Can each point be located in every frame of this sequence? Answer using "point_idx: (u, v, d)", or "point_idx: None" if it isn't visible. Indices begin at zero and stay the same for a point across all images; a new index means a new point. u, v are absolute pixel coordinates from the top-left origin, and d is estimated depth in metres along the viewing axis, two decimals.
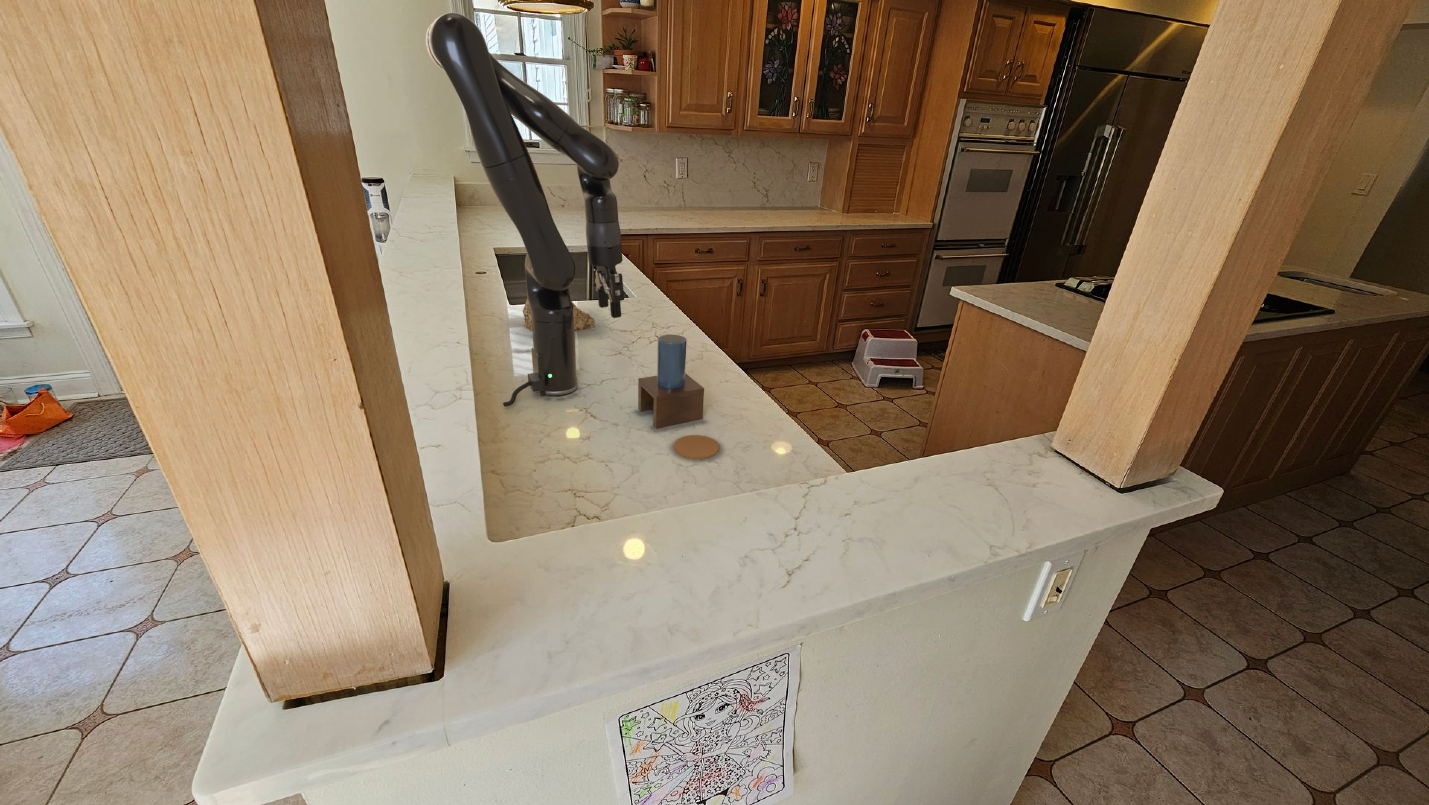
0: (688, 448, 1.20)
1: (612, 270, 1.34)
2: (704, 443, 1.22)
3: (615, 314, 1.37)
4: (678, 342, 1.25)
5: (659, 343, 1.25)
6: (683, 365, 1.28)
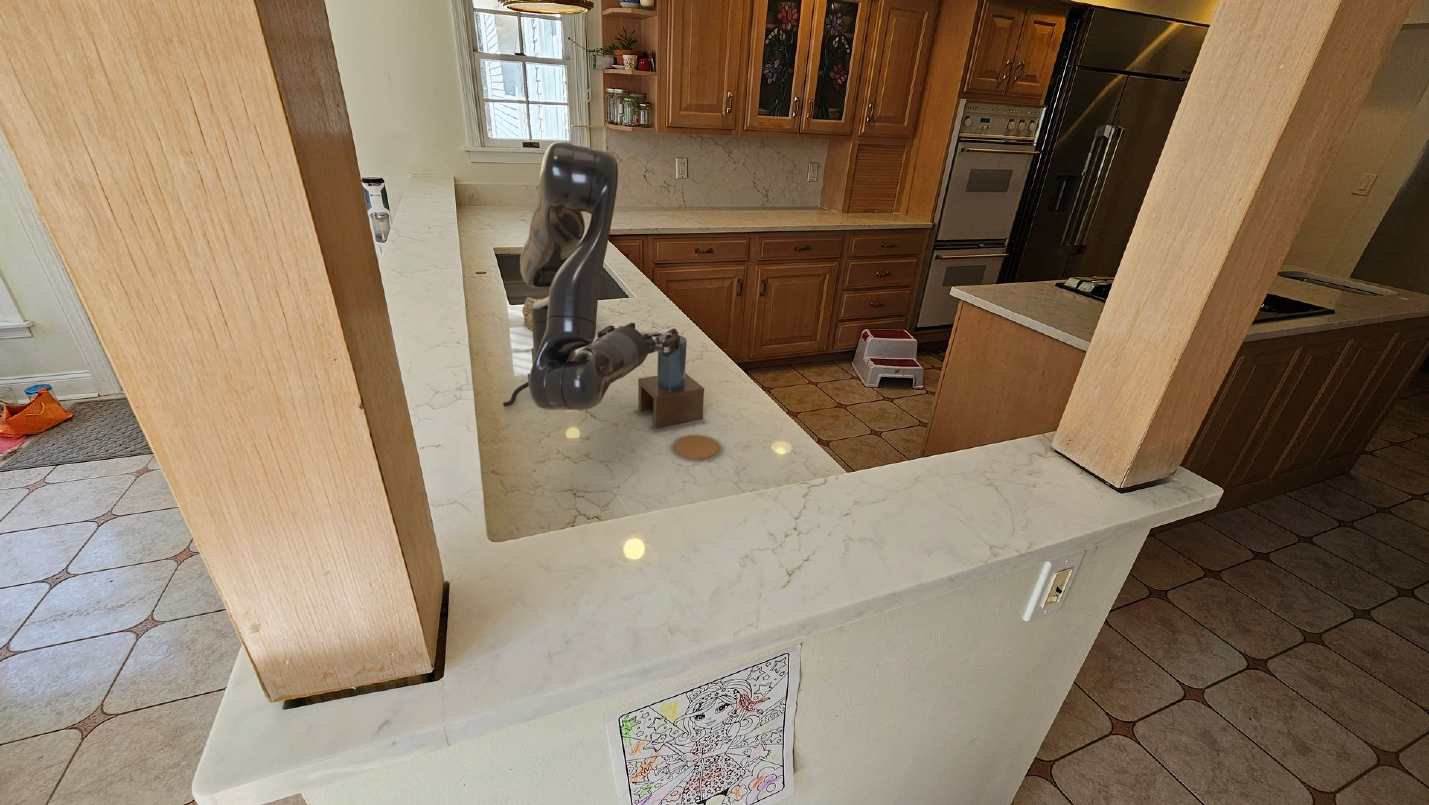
0: (688, 448, 1.20)
1: None
2: (704, 443, 1.22)
3: None
4: None
5: None
6: (683, 365, 1.28)
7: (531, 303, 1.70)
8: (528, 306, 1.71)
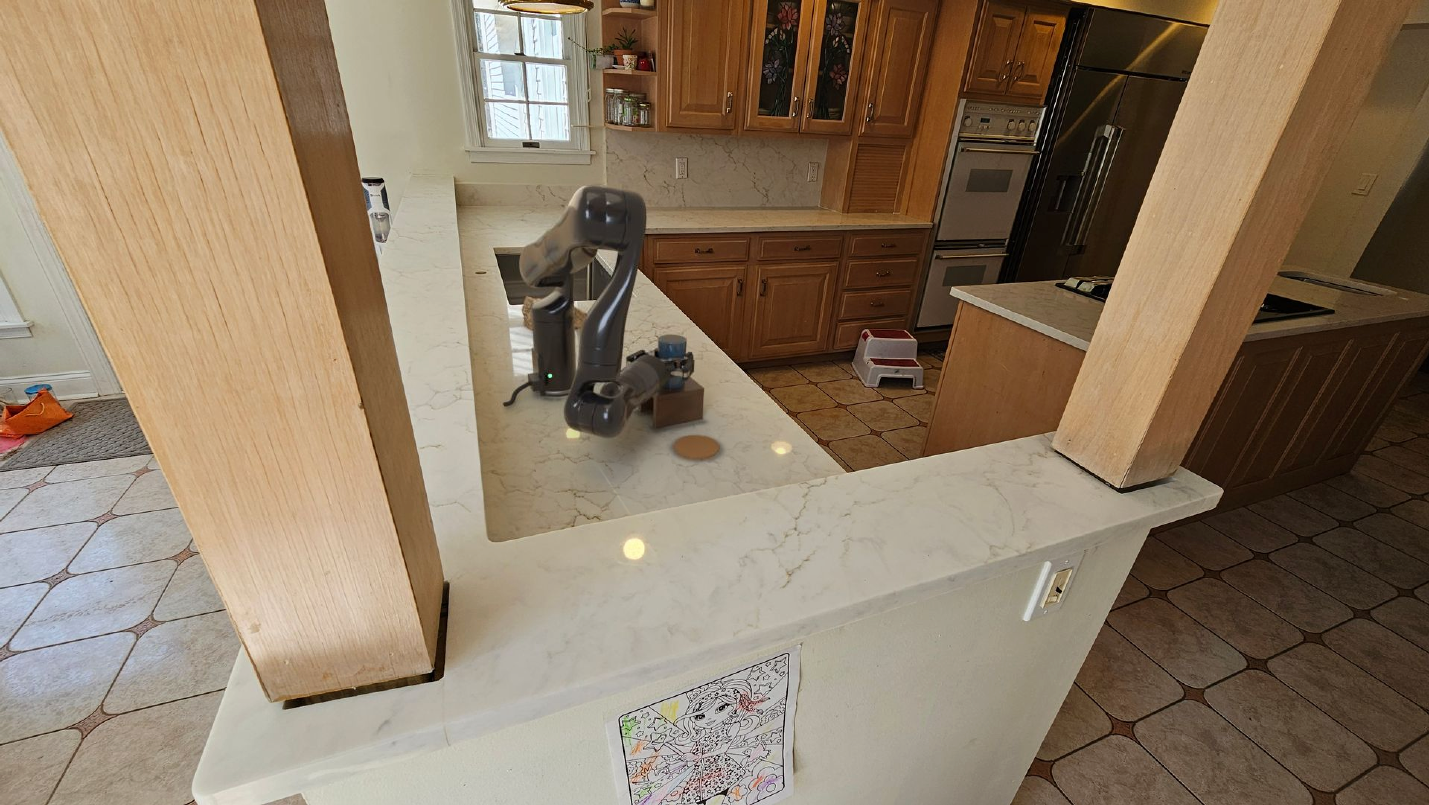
0: (688, 448, 1.20)
1: None
2: (704, 443, 1.22)
3: None
4: (678, 342, 1.25)
5: (659, 343, 1.25)
6: None
7: (530, 302, 1.70)
8: (527, 305, 1.72)
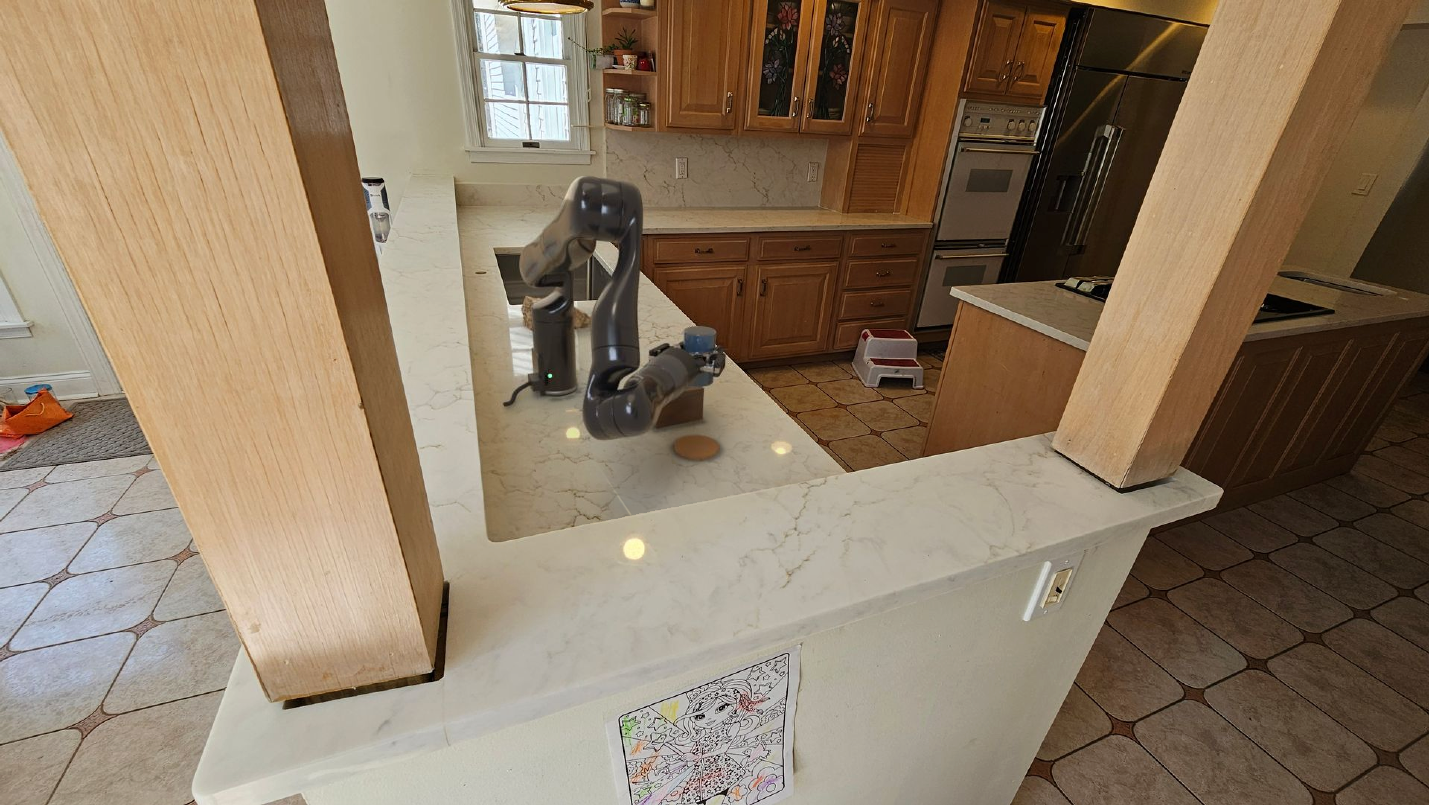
0: (688, 448, 1.20)
1: None
2: (704, 443, 1.22)
3: None
4: (707, 334, 1.11)
5: (686, 335, 1.11)
6: None
7: (529, 302, 1.71)
8: (526, 305, 1.72)
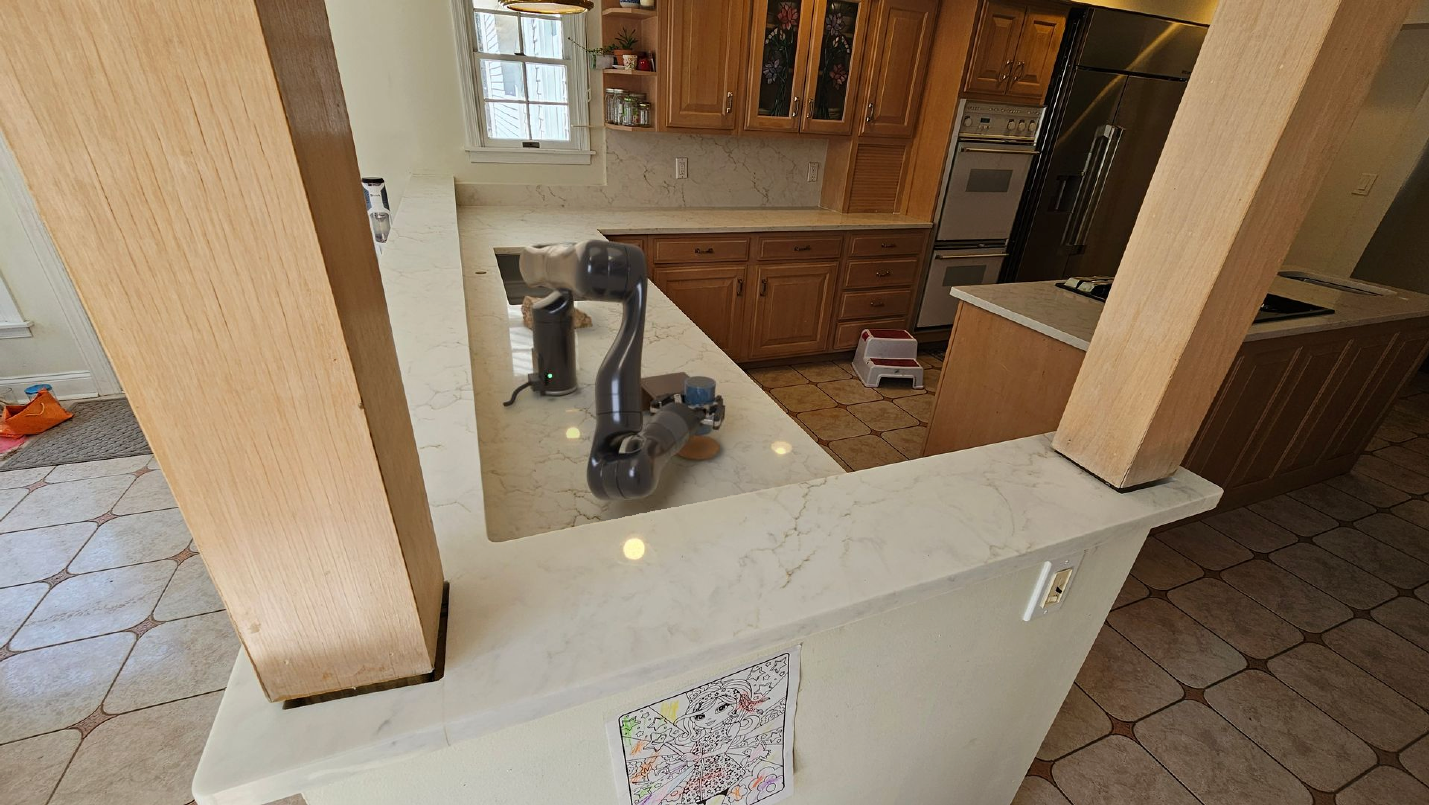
0: (688, 448, 1.20)
1: None
2: (704, 443, 1.22)
3: None
4: (707, 386, 1.14)
5: (686, 387, 1.14)
6: None
7: (529, 301, 1.71)
8: (526, 304, 1.73)
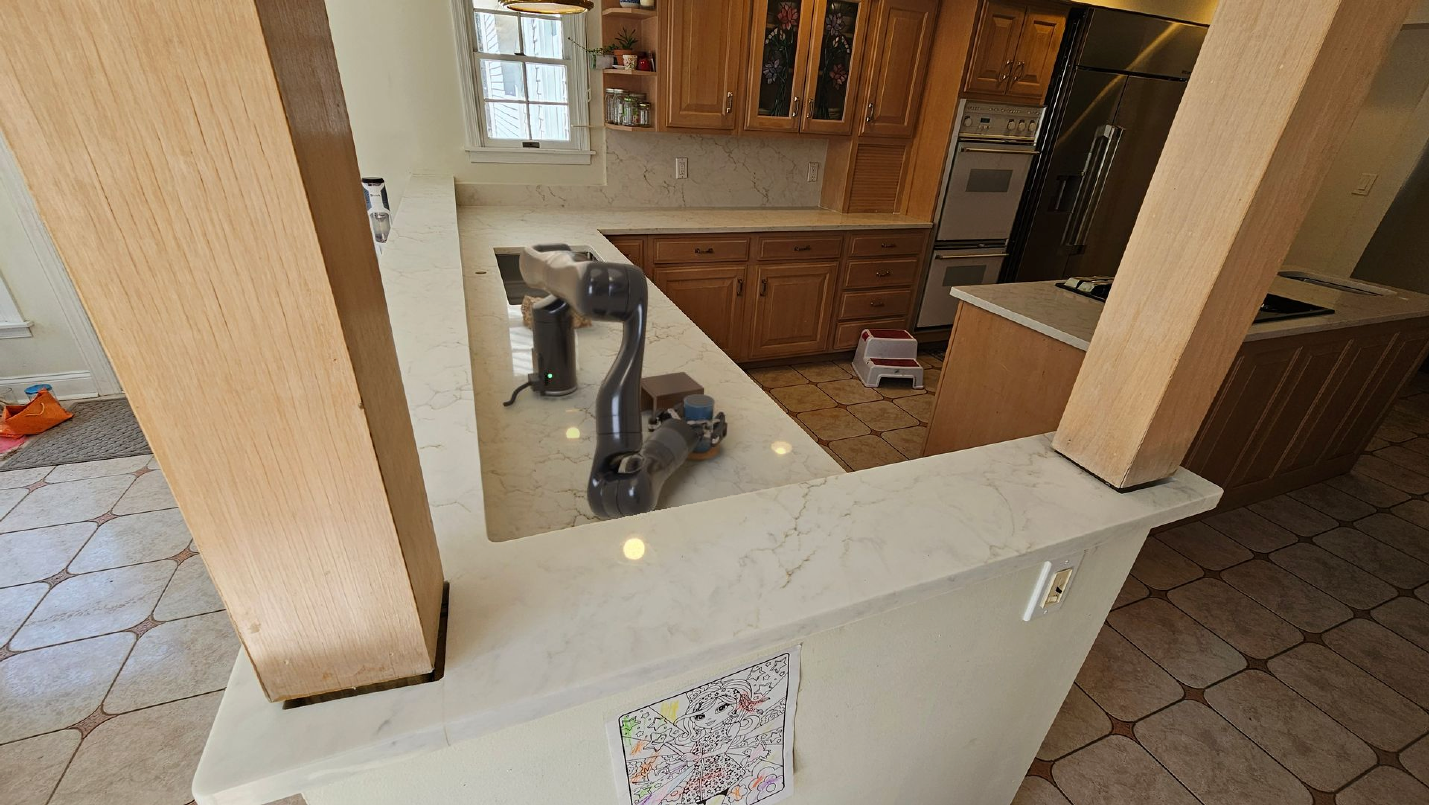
0: None
1: None
2: None
3: None
4: (706, 405, 1.15)
5: (685, 405, 1.16)
6: (711, 428, 1.18)
7: (528, 301, 1.71)
8: (525, 304, 1.73)
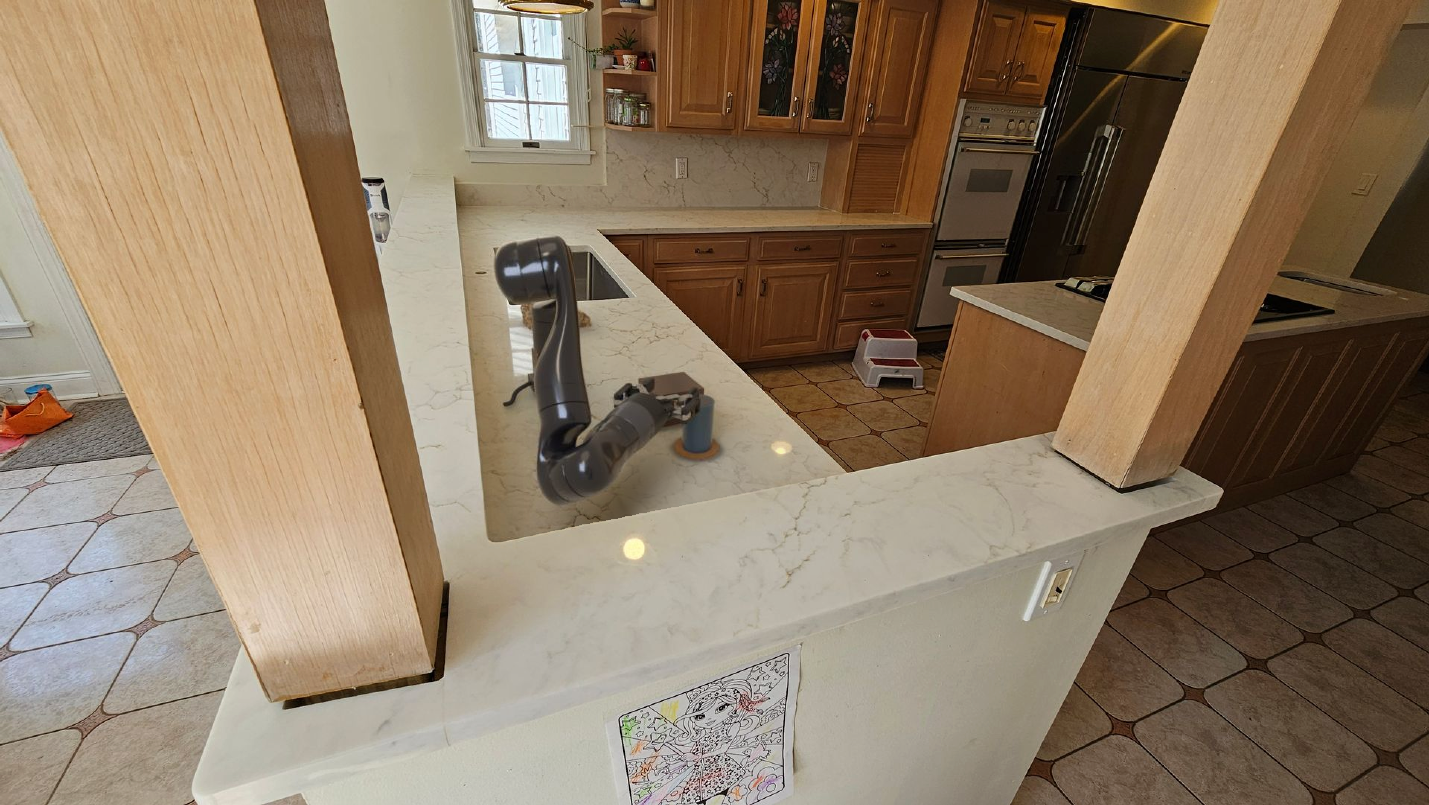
0: None
1: None
2: None
3: None
4: (706, 405, 1.15)
5: None
6: (711, 428, 1.18)
7: None
8: (525, 304, 1.73)
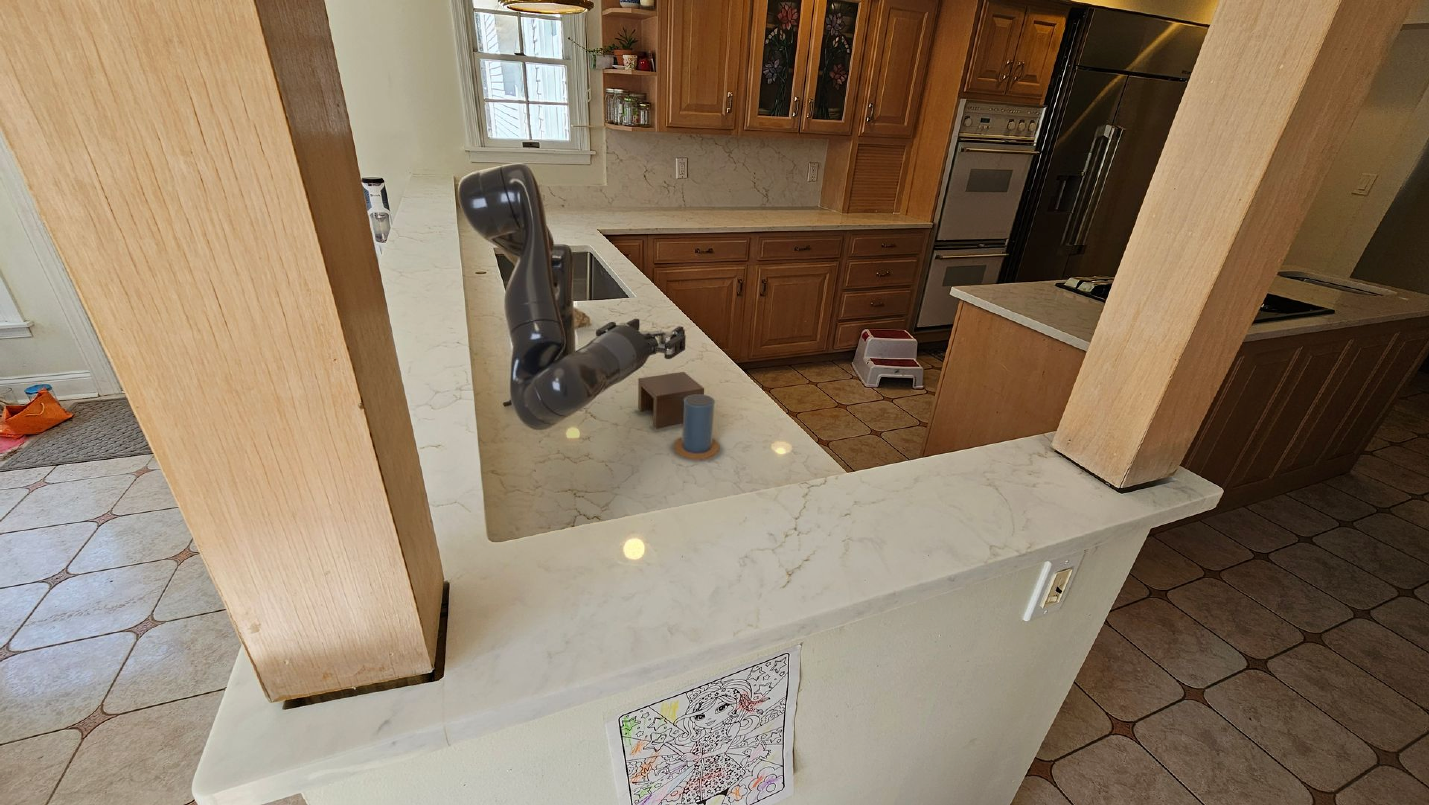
0: None
1: None
2: None
3: None
4: (706, 405, 1.15)
5: (685, 405, 1.16)
6: (711, 428, 1.18)
7: None
8: None
